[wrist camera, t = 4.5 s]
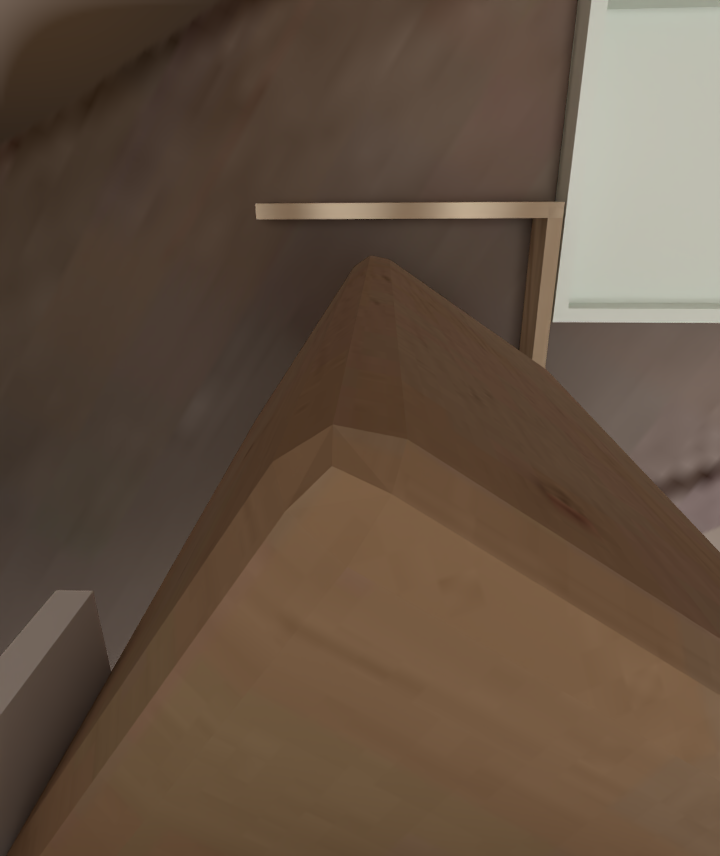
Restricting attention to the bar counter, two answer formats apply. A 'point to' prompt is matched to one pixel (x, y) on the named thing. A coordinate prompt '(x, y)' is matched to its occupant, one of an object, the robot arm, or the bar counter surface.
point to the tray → (641, 165)
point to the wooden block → (412, 626)
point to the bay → (543, 215)
